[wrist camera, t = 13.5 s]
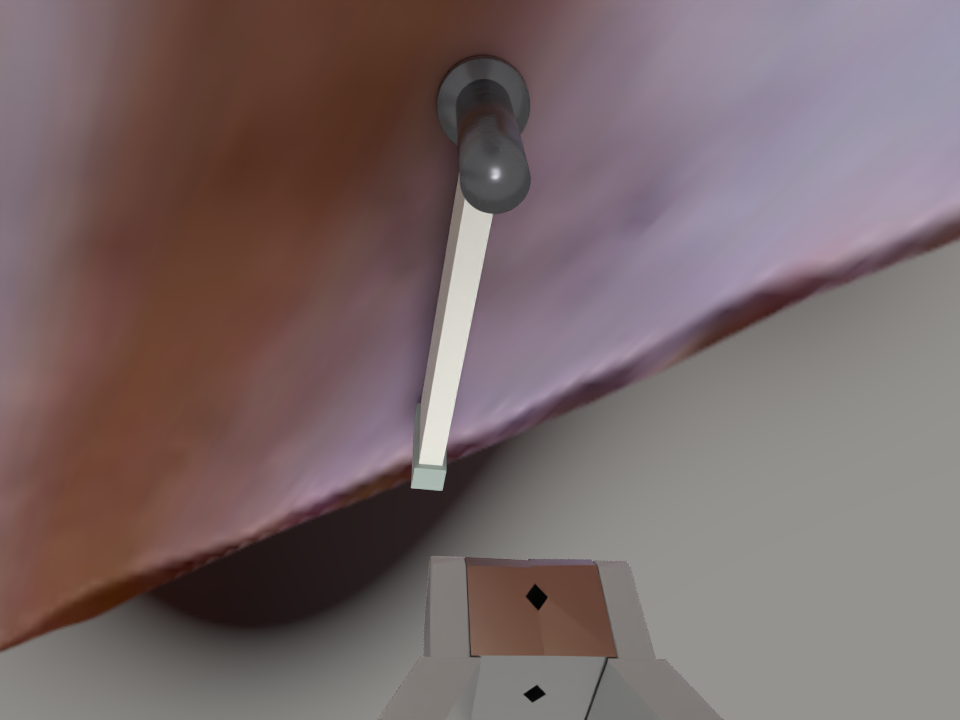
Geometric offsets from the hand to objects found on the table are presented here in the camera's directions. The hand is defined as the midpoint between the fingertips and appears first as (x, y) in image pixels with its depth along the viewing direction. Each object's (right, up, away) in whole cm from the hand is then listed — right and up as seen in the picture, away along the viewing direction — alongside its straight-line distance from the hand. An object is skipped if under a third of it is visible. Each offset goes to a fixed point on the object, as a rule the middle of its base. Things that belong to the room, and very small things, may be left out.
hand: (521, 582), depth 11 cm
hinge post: (0, +17, +29) cm, 34 cm away
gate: (-3, +7, +35) cm, 36 cm away
